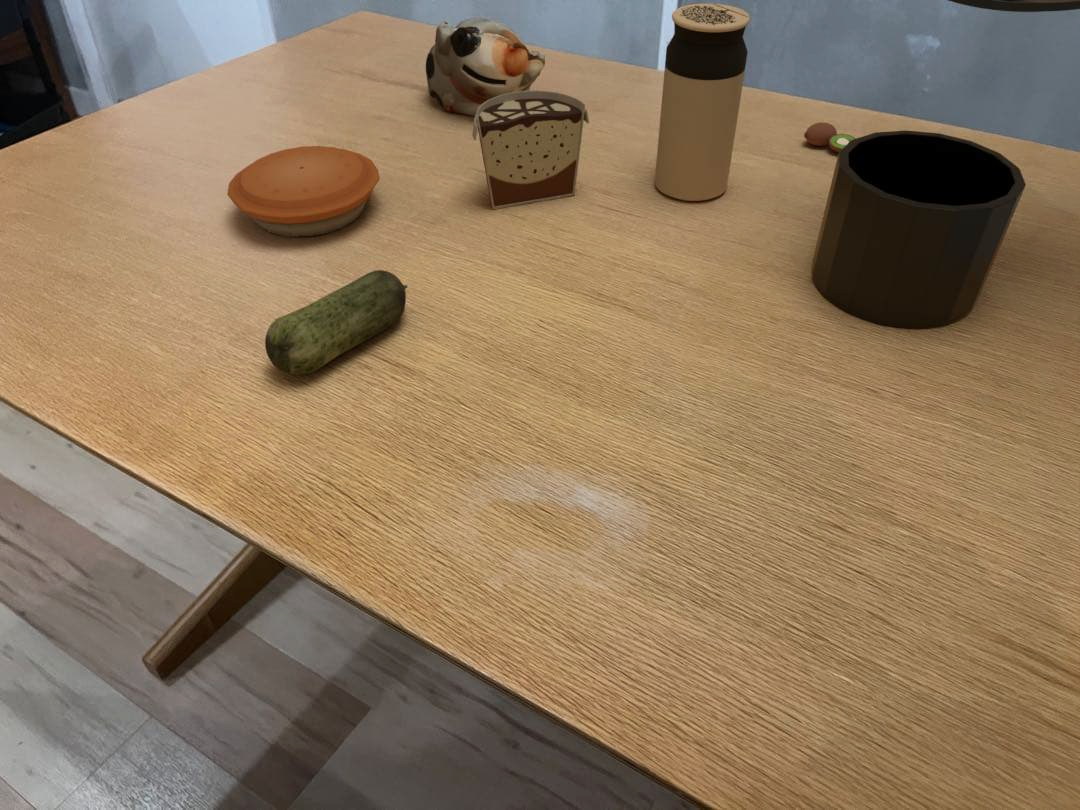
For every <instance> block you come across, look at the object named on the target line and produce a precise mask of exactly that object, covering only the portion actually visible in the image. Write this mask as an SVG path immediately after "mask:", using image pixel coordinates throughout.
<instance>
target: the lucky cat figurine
mask: <svg viewBox="0 0 1080 810" xmlns="http://www.w3.org/2000/svg"><path fill="white" fill-rule="evenodd" d="M434 41H435V42H434V44H433V45H432V46H431V47H430V49H429V52H428V53H427V55H426V56H427V57H426V58H425V59H426V60H425V76H426V82H427V89H428V95H429V96H430V97H431V98H432V99H436V100H437V102H438V103H439V105H440V106H441V108H442V109H443V110H444V112H448V113H449V112H450V113H454V114H460V115H465V116H470V117H471V116H472V117H475V115H476V114H477V110H478V108H479V107H480V106H481V105H482V104H483V103H484V102H486V101H487V100H489V99H492V98H494V97H497V96H499V95H503V94H507V93H512V92H519V91H531V86H532V85H533V84H534V82H535V81H537V79H538V77H539V76H541V72H542V70H543V69H544V68H545V65H546V55H545V54H541V53H540V51H537V50H535V51H530V50H529V49H528V47H527V46H526V45H525V42H524V40H523V38H522V36H520V35H519V34H518V33H517V32H516V31H515V30H514V29H513V28H509V27H508V26H507V24H505V23H503V22H502V21H499V20H497V19H486V18H484V17H483V18H482V17H478V18H477V17H475V18H470V19H464V20H462V21H460V22H459V23H458V24H457V25H456V26H455V27H453V26H451V25H450V24H449V23H448V22H447V21H442V22H441V23H439V26H437V27H436V30H435V39H434Z"/></svg>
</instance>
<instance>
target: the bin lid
mask: <svg viewBox="0 0 1080 810" xmlns="http://www.w3.org/2000/svg"><path fill="white" fill-rule="evenodd" d="M947 1H949V2H952V3H955V4H959V5H962V6H967V7H971V8H977V9H984V10H990V11H999V12H1000V11H1001V12H1011V13H1012V12H1013V13H1040V12H1042V13H1043V12H1045V13H1046V12H1065V11H1076V10H1080V0H947Z"/></svg>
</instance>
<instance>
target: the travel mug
mask: <svg viewBox="0 0 1080 810" xmlns="http://www.w3.org/2000/svg"><path fill="white" fill-rule="evenodd" d="M671 20H672V21H673V24H674V34H673V36H672V37H671V39H670V41H669V42H668V44H667V46H666V49H665V61H664V72H663V84H662V93H661V94H662V96H661V104H660V105H661V106H660V118H659V127H658V128H659V129H658V139H657V149H656V159H655V160H656V161H655V171H654V172H655V173H654V186H655V188H657V190H658V191H660V192H661V193H663V194H664V195H667V196H668V197H671V198H674V199H677V200H680V201H687V202H701V201H707V200H710V199H715V198H717V197H719V196H721V195H722V194H724V193H725V192H726V190H727V188H728V183H729V178H730V177H729V176H730V169H731V163H732V156H733V152H734V151H733V149H734V144H735V137H736V130H737V125H738V124H737V123H738V119H739V112H740V105H741V100H742V99H741V98H742V92H743V86H744V85H743V84H744V78H745V73H746V65H747V59H748V54H749V53H748V52H749V51H748V48H747V46H746V42H745V39H744V34H745V31H746V27H747V26H748V25H749V24H750V22H751V16H750V14H749V13H748V12H747V11H745V10H744V9H742V8H739V7H736V6H733V5H728V4H722V3H693V4H687V5H684V6H680V7H678V8H675V10H674V11H673V12H672V14H671Z"/></svg>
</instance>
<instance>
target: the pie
mask: <svg viewBox="0 0 1080 810" xmlns="http://www.w3.org/2000/svg"><path fill="white" fill-rule="evenodd" d="M379 181H380V173H379V169H378V168H377V166H376V165H375V163H374V161H373V160H372V159H370V158H369V157H367V156H365V155H363V154H361V153H359V152H355V151H351V150H349V149H345V148H340V147H334V146H326V145H325V146H323V145H309V146H308V145H306V146H297V147H292V148H291V147H290V148H285V149H283V150H282V149H281V150H278V151H275V152H272V153H268V154H267V155H264V156H262V157H260V158H258V159H256V160H255V161H253V162H252V163H250V164H249V165H247V166H245V167H244V168H243V169H241V170H240V171H239V172H237V173H236V174H235V175H234V177H232V179H231V180H230V181H229V183H228V187H227V196H228V197H229V199H230V200H231V202H232V203H233V204H234V205H235V206H236V207H237V208H238V209H239V210H241V211H242V212H243V213H245V214H246V215H247V216H248V217H249V218H250V219H251V220H252V221H254V222H255V223H256V224H257V225H258V226H259V227H261V228H262V227H263V228H262V229H264V230H265V229H266V230H265V231H267V232H268V231H270V232H269V233H271V232H273V233H272V234H274V233H276V234H275V235H277V234H279V235H278V236H280V235H285V236H284V237H289V236H293V237H292V238H300V237H299V236H310V237H314V236H313V235H316V236H320V235H319V234H321V235H326V234H329V233H332V232H335V231H338V230H341V229H343V228H344V227H346V226H348V225H350V224H352V223H354V221H355V220H356V219H357V218H359V216H360V215H361V213H362V212H363V209H364V207H365V205H366V203H367V201H368V199H369V197H370V196H371V194H372V192H373V190H374V189H375V187H376V186H377V184H378V182H379ZM351 222H352V223H351ZM349 223H350V224H349ZM342 227H343V228H342ZM340 228H341V229H340ZM337 229H338V230H337ZM334 230H335V231H334ZM331 231H332V232H331ZM328 232H329V233H328ZM325 233H326V234H325ZM286 235H287V236H286ZM295 236H296V237H295Z"/></svg>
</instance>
